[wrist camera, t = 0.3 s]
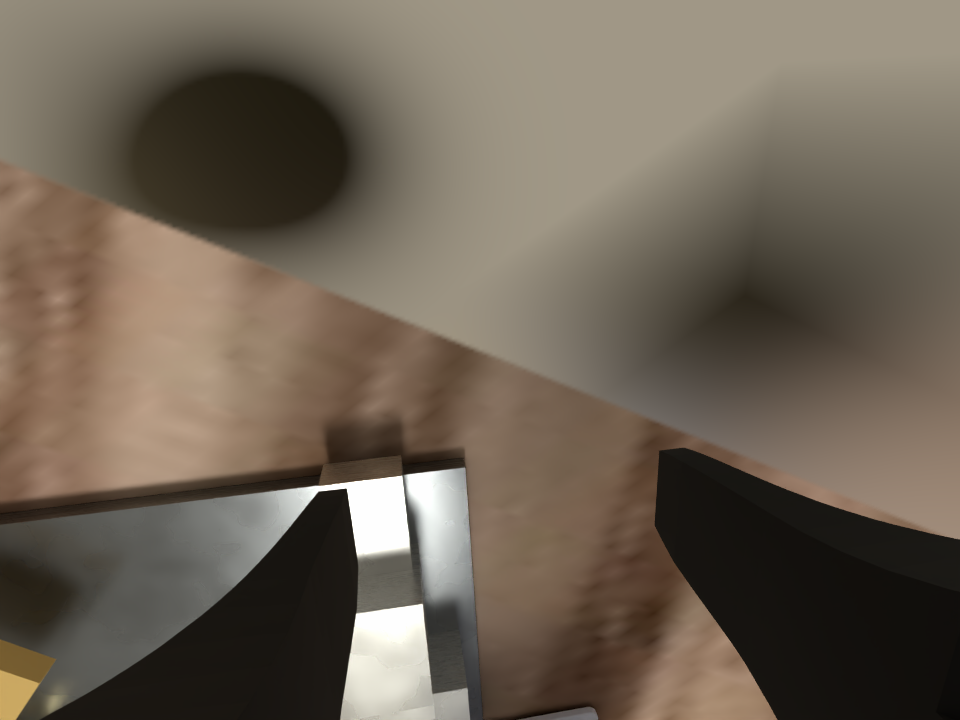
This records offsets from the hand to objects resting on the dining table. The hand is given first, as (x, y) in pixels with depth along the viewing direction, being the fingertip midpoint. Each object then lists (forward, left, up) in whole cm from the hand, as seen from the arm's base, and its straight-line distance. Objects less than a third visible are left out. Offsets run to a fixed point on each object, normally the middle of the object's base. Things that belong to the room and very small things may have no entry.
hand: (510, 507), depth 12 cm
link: (-11, +4, -9) cm, 15 cm away
